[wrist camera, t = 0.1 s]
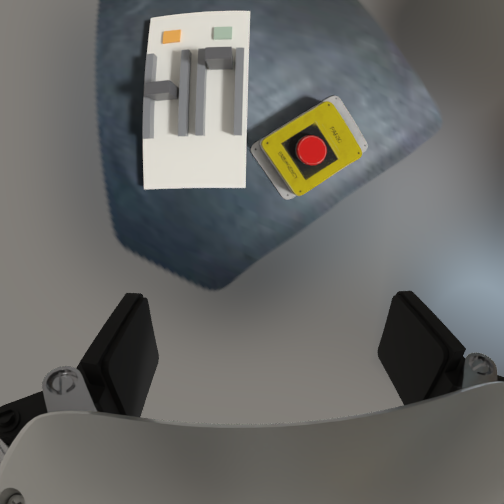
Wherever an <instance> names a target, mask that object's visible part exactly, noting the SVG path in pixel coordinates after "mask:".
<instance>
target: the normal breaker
mask: <svg viewBox="0 0 504 504" xmlns="http://www.w3.org/2000/svg"><path fill="white" fill-rule="evenodd" d="M205 61H206V63H207V65H208V67H209V69H210V70H224V69H233V54H232V47H205Z"/></svg>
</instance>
